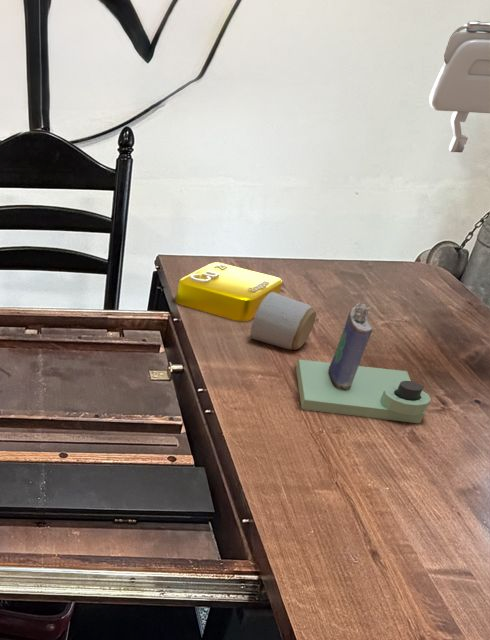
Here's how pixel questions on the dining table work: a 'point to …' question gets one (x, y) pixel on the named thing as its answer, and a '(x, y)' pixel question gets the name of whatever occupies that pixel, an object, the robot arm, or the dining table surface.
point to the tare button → (409, 390)
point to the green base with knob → (358, 393)
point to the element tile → (226, 291)
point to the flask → (350, 348)
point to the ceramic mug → (283, 322)
